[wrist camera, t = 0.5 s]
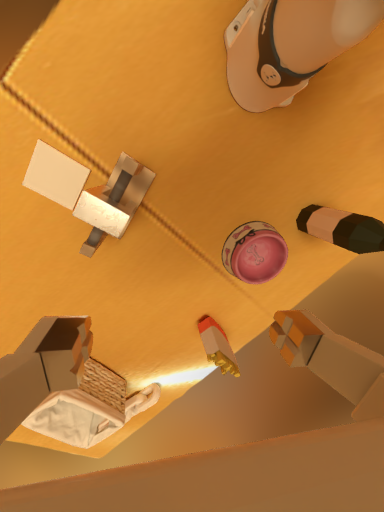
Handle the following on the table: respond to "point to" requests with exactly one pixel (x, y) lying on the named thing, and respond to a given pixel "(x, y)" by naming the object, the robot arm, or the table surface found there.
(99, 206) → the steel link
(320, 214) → the wine bottle
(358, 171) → the table surface
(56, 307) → the table surface
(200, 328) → the french fries container
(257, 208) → the table surface
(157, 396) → the chain
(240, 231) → the dog bowl
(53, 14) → the table surface
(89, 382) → the storage basket
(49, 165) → the ceramic tile
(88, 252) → the rail stand
